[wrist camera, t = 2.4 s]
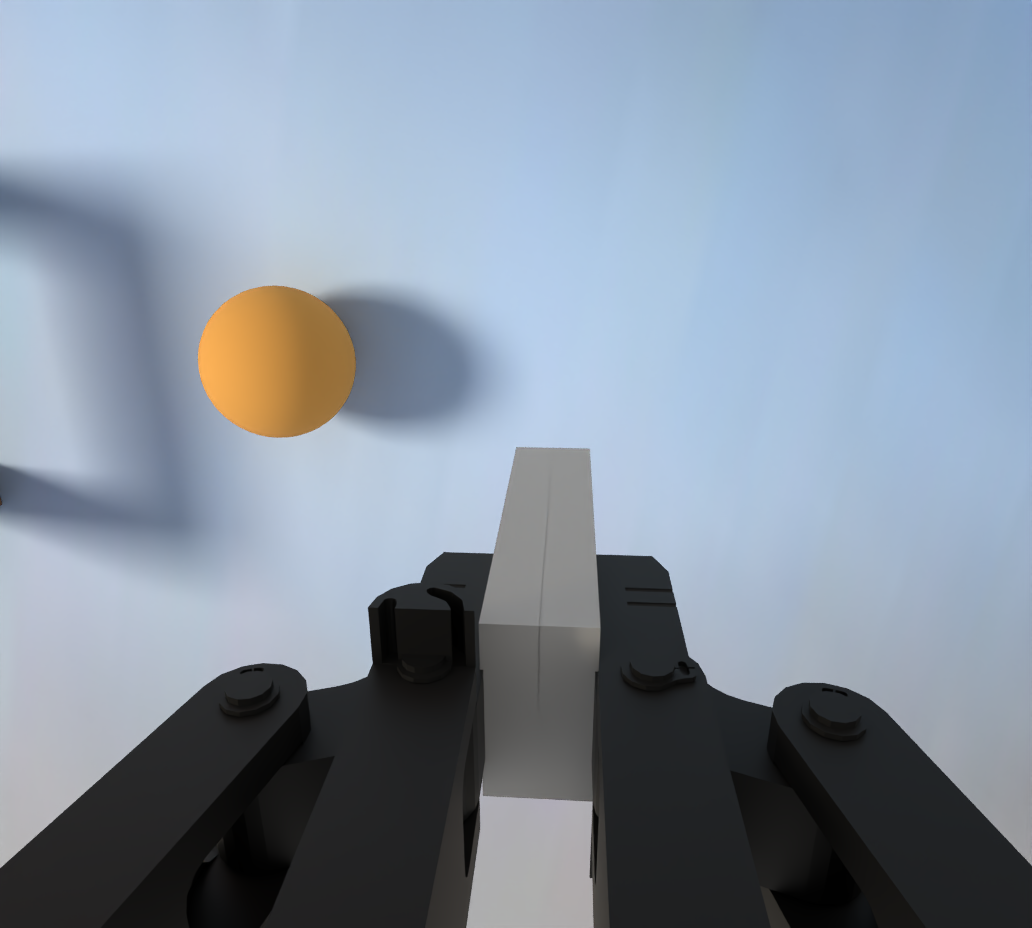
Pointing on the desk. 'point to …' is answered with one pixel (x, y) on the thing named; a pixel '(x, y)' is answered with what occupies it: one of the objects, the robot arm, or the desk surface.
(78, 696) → the desk surface
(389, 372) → the desk surface
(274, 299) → the ball
